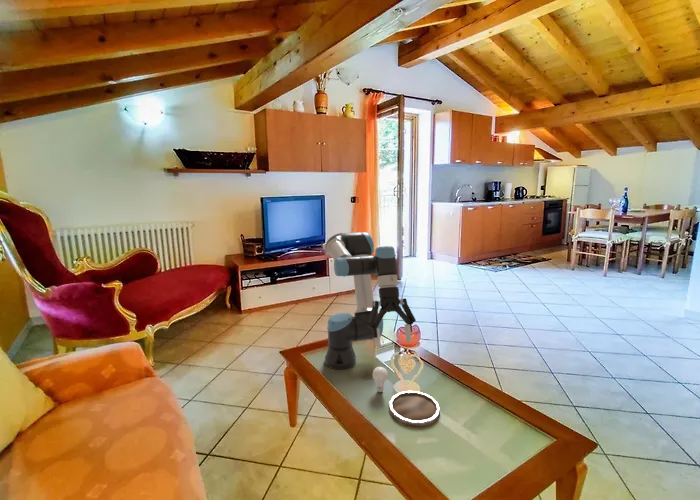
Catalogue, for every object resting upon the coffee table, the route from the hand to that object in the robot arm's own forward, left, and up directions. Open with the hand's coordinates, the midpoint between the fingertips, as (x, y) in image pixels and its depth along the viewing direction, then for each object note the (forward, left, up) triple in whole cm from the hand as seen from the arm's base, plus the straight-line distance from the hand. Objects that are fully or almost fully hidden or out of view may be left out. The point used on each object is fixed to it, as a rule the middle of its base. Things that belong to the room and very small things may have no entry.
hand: (393, 344), depth 131 cm
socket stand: (+6, +6, -27) cm, 28 cm away
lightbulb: (-11, +5, -27) cm, 30 cm away
